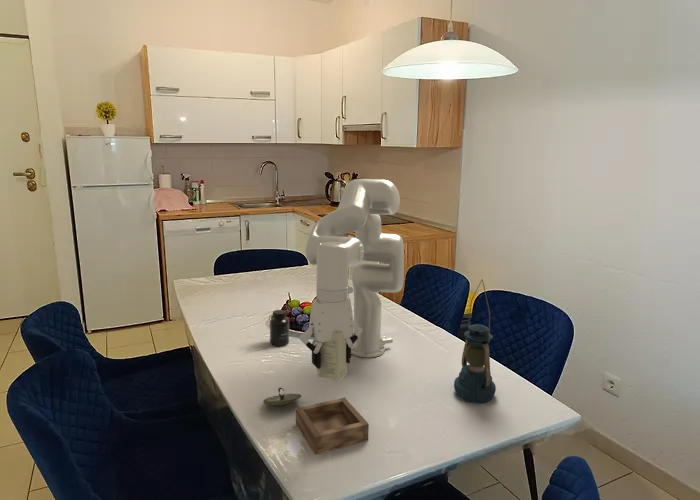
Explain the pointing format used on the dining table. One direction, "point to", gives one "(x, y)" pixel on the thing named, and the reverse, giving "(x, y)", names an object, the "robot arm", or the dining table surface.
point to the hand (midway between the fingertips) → (331, 363)
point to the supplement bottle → (279, 329)
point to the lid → (282, 399)
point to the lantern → (476, 365)
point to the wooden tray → (331, 425)
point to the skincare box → (333, 358)
